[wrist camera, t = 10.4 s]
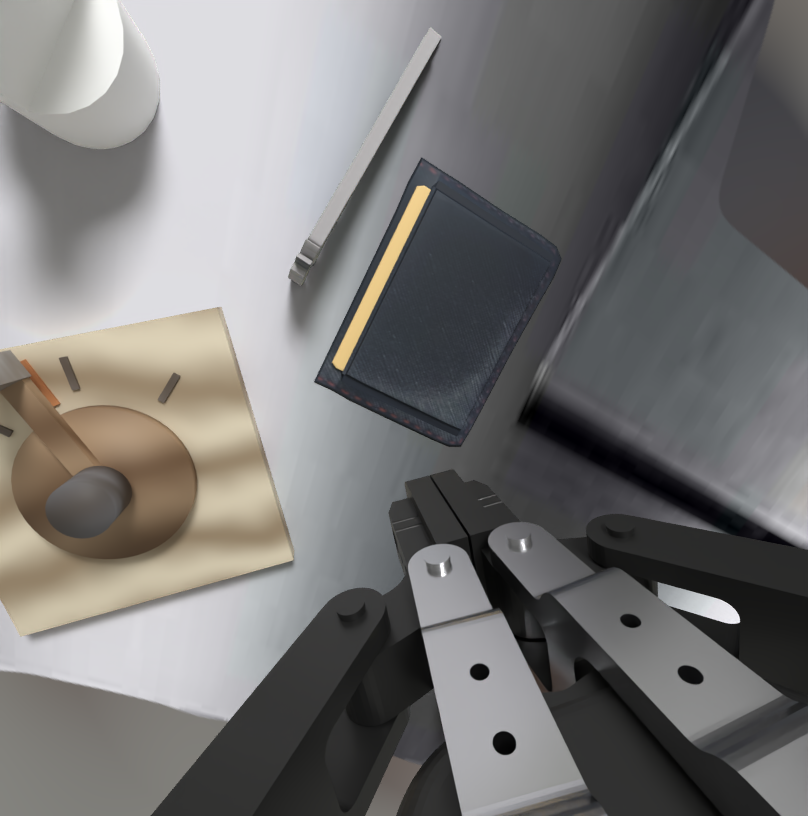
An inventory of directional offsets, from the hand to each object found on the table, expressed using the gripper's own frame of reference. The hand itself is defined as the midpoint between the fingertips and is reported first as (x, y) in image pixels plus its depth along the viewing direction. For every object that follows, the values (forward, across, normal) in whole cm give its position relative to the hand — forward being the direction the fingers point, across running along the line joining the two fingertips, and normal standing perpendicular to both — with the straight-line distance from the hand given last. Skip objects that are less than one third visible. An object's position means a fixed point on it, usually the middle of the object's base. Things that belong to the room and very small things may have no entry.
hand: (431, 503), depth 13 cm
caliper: (+26, -4, -15) cm, 30 cm away
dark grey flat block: (+26, -8, -3) cm, 27 cm away
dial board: (+25, +20, +4) cm, 32 cm away
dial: (+23, +21, +2) cm, 31 cm away
